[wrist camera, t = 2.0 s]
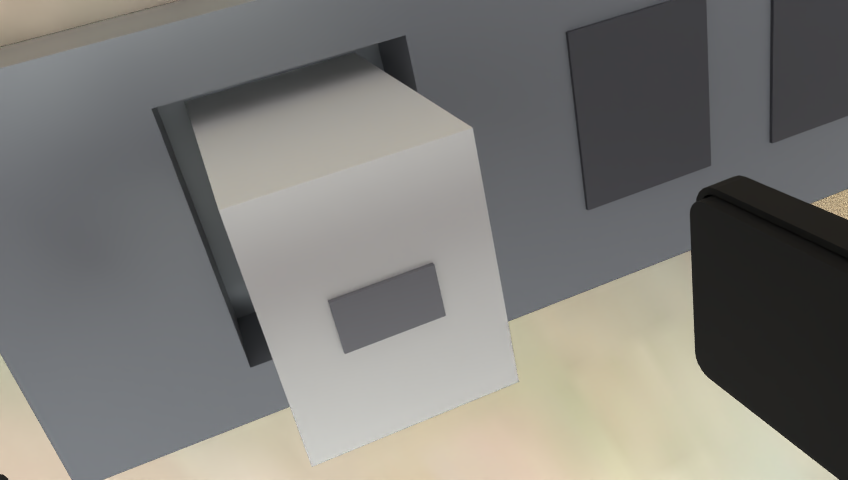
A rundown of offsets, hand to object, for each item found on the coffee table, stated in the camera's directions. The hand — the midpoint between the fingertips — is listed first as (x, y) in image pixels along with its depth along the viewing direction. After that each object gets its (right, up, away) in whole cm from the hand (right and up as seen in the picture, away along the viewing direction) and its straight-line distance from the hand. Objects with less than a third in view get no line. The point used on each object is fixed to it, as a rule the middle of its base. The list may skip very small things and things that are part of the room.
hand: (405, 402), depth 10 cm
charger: (-3, +4, +9) cm, 10 cm away
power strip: (+3, +6, +10) cm, 12 cm away
